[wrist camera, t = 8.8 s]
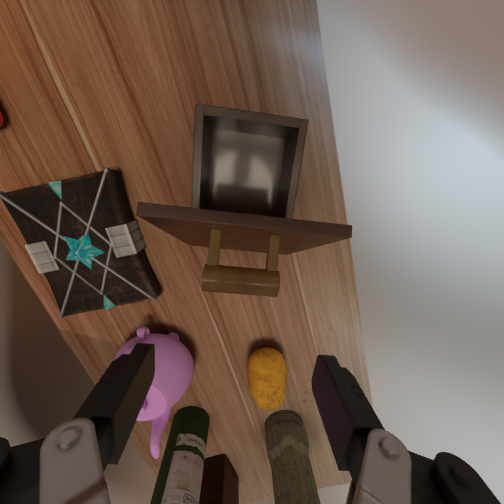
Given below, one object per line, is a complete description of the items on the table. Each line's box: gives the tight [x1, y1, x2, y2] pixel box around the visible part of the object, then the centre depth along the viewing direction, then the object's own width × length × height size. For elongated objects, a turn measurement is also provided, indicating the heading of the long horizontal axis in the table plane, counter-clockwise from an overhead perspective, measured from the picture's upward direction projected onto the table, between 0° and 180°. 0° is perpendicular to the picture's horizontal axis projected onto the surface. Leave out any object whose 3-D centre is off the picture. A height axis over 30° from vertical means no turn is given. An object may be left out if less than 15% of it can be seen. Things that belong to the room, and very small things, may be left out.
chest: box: [191, 104, 308, 219], centre depth 33 cm, size 16×13×9 cm
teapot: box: [114, 326, 194, 459], centre depth 41 cm, size 20×14×12 cm
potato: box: [247, 347, 287, 411], centre depth 46 cm, size 8×14×7 cm, turn 4°
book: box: [0, 168, 163, 318], centre depth 37 cm, size 22×17×5 cm
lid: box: [136, 202, 352, 297], centre depth 22 cm, size 17×13×5 cm
